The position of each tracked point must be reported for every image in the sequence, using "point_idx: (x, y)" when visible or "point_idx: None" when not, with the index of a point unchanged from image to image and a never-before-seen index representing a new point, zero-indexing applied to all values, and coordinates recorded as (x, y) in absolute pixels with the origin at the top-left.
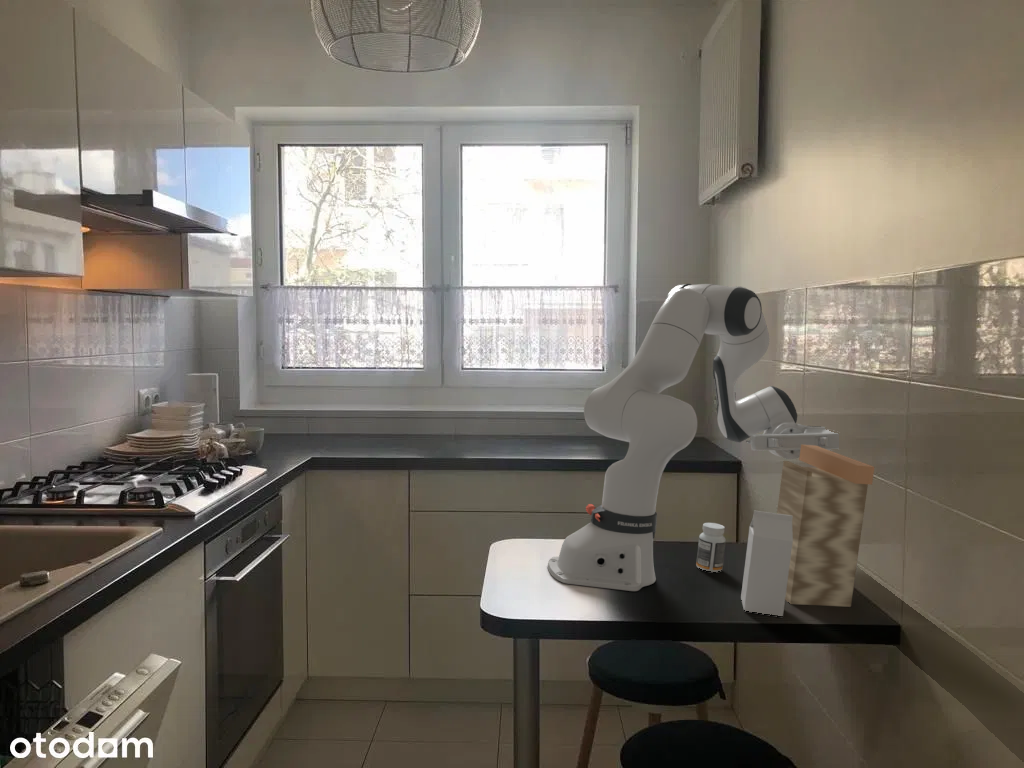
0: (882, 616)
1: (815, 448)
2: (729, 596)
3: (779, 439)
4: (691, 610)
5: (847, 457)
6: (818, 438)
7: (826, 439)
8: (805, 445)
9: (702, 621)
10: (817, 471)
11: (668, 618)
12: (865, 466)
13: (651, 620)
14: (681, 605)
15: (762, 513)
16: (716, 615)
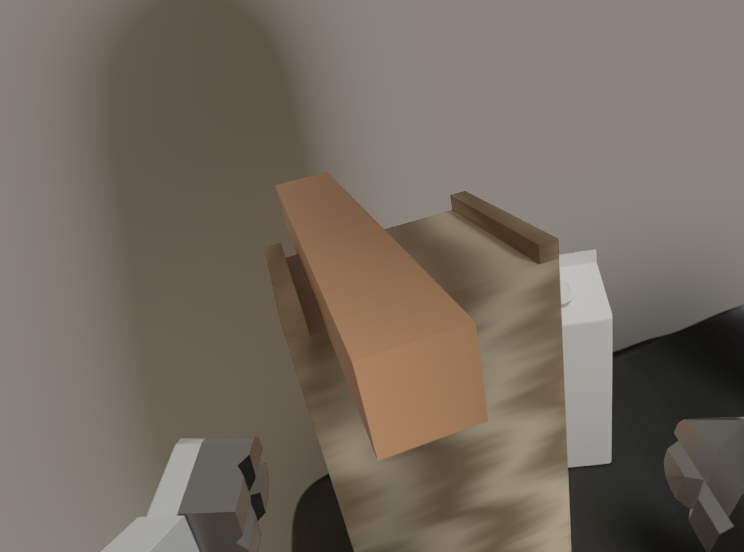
0: (302, 523)
1: (392, 274)
2: (640, 467)
3: (728, 420)
4: (673, 374)
5: (298, 220)
6: (241, 490)
7: (185, 440)
8: (444, 309)
9: (635, 350)
10: (420, 260)
11: (687, 337)
12: (303, 178)
13: (705, 322)
14: (701, 383)
15: (574, 255)
16: (625, 377)
